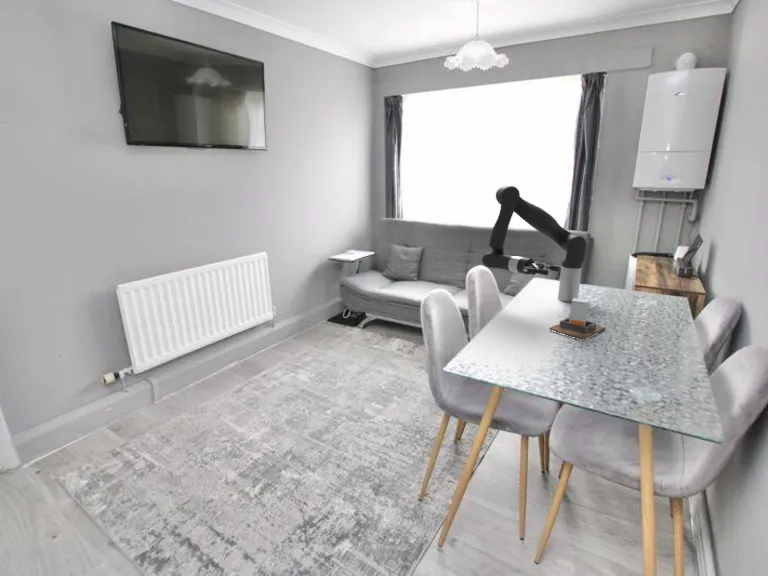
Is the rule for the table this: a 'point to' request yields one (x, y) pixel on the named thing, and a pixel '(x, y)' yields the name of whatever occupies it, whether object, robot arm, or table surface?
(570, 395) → the table surface
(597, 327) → the holder
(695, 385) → the table surface
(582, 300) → the skincare box
